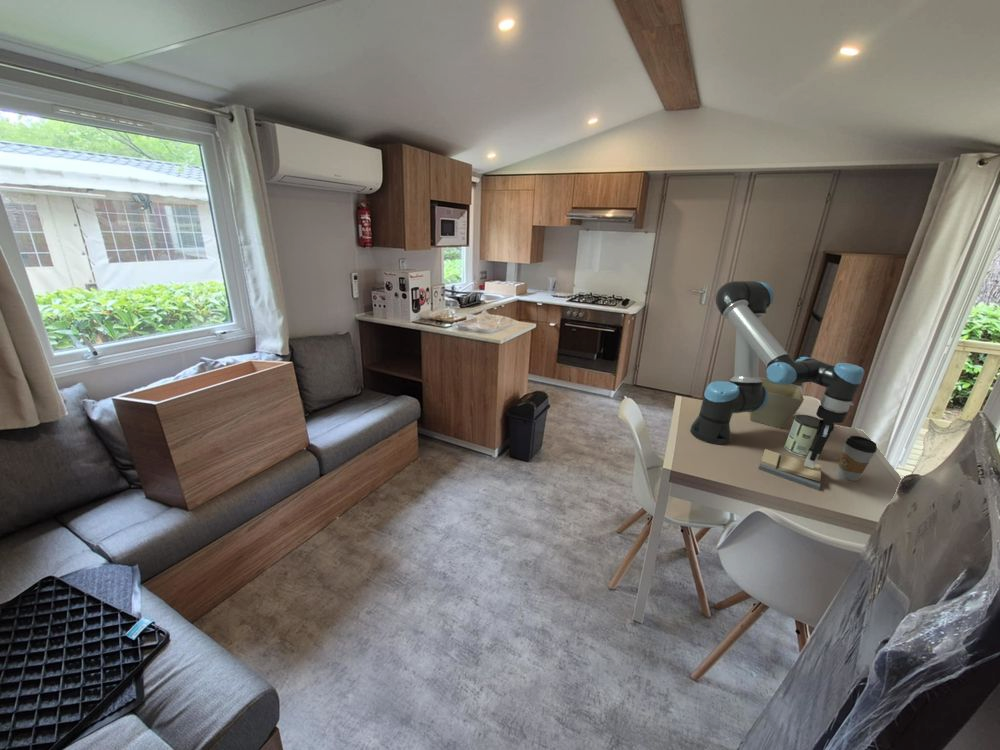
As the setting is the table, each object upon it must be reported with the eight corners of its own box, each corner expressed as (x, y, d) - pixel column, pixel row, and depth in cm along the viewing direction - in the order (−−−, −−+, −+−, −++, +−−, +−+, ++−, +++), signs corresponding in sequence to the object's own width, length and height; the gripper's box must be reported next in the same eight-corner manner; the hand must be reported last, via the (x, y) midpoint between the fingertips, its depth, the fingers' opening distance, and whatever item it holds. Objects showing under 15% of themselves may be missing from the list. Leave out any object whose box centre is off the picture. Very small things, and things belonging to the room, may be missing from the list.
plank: (778, 469, 142) (778, 466, 142) (781, 457, 150) (781, 454, 150) (819, 481, 135) (820, 478, 135) (820, 467, 143) (821, 465, 143)
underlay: (758, 469, 144) (760, 462, 143) (763, 452, 155) (765, 446, 154) (818, 490, 134) (821, 483, 133) (819, 471, 145) (822, 465, 144)
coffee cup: (826, 469, 147) (841, 434, 141) (846, 469, 147) (862, 434, 142) (846, 483, 139) (863, 447, 133) (867, 483, 140) (885, 447, 134)
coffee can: (806, 446, 162) (818, 416, 157) (819, 459, 153) (833, 428, 147) (779, 442, 164) (790, 412, 159) (791, 455, 154) (803, 424, 149)
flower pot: (791, 434, 171) (804, 399, 165) (741, 421, 180) (752, 388, 174) (789, 418, 186) (801, 386, 180) (743, 407, 195) (753, 376, 189)
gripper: (848, 418, 125) (821, 479, 134) (847, 405, 134) (822, 462, 143) (819, 410, 129) (794, 469, 138) (820, 398, 139) (797, 454, 147)
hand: (808, 466), depth 141 cm, fingers closed
